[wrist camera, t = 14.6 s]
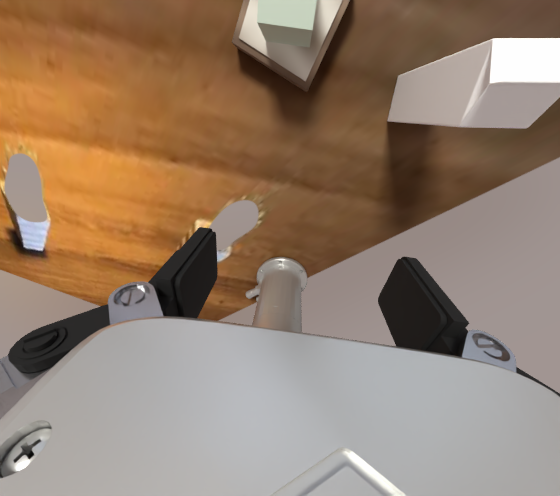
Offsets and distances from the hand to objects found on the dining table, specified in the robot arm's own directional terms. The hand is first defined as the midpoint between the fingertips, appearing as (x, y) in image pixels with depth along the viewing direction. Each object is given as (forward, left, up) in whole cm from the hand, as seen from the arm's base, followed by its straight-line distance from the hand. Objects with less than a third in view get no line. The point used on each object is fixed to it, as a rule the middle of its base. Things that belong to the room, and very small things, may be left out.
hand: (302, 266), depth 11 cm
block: (+8, +16, -30) cm, 35 cm away
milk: (+19, -2, -34) cm, 39 cm away
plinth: (+8, +16, -33) cm, 38 cm away
